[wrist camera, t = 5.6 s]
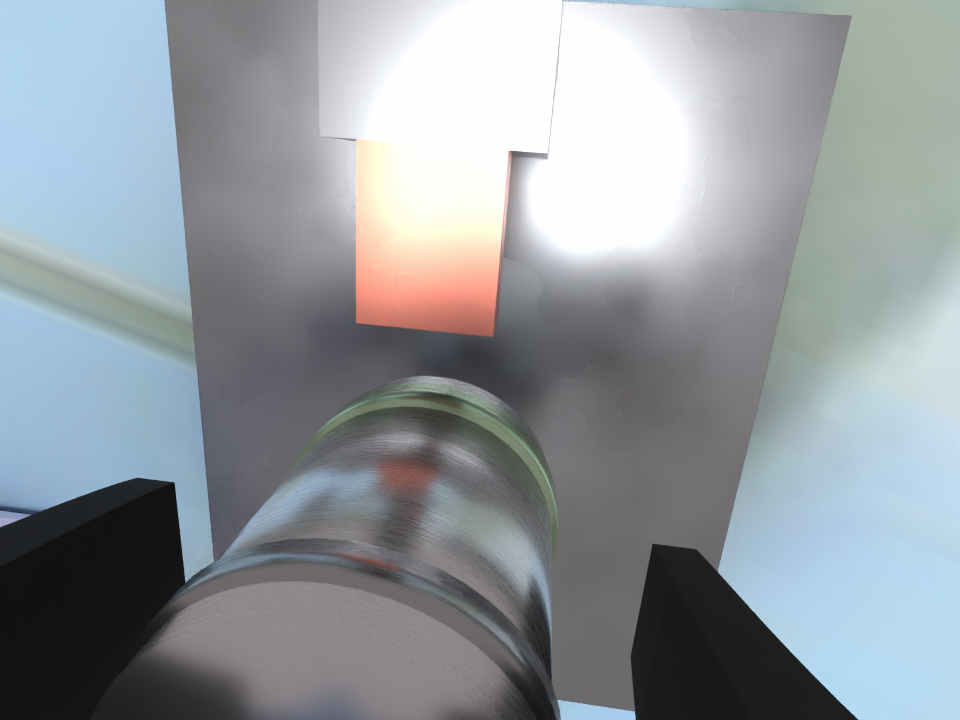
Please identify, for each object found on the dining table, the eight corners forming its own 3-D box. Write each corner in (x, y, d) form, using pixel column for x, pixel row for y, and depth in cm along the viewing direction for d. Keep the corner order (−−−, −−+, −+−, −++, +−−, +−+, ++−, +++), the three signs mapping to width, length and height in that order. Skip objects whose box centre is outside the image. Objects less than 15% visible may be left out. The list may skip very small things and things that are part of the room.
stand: (245, 613, 20) (90, 841, 13) (202, -1, 14) (-115, -154, 7) (671, 676, 18) (740, 961, 12) (817, 32, 13) (1111, -116, 6)
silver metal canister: (318, 570, 12) (108, 933, 6) (313, 357, 10) (36, 580, 5) (543, 602, 12) (536, 1017, 6) (570, 385, 10) (598, 662, 4)
